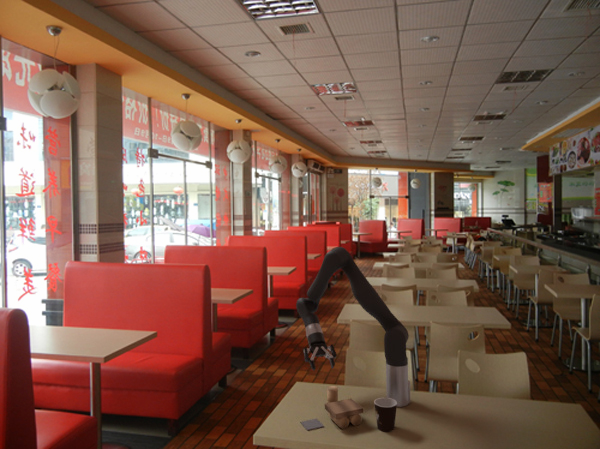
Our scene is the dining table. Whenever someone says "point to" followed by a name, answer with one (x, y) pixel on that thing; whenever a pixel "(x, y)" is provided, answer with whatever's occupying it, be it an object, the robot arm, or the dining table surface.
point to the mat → (312, 424)
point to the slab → (344, 412)
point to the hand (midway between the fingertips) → (323, 368)
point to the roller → (332, 394)
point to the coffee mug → (385, 413)
